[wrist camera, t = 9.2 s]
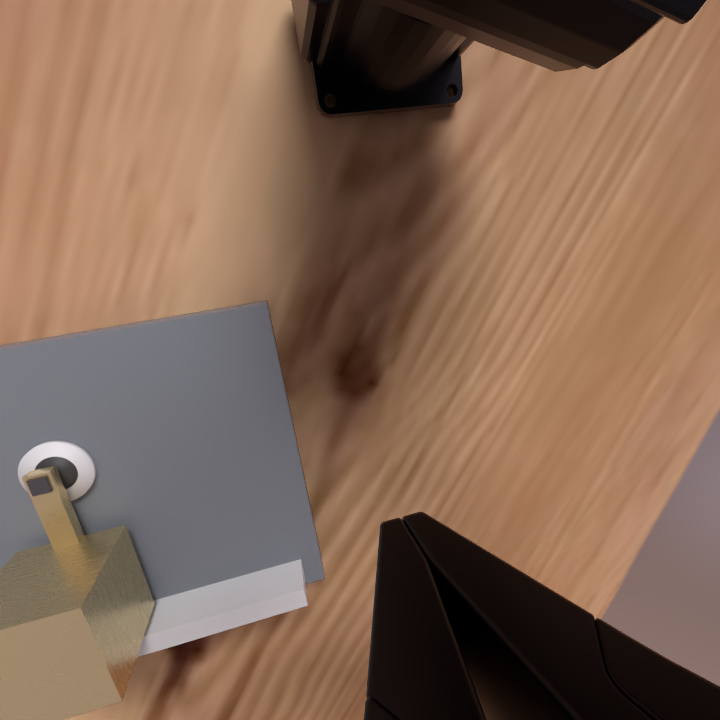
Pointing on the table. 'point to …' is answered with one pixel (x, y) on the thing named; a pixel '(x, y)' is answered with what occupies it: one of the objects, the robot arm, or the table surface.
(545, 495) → the table surface
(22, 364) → the hole plate
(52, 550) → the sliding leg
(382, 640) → the robot arm
